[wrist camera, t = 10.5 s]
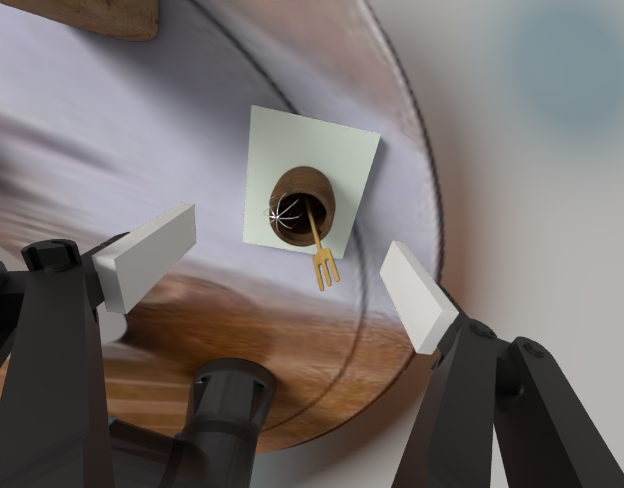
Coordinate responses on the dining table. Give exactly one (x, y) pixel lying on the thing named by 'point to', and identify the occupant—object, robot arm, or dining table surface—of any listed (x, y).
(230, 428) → the robot arm
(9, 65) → the dining table surface
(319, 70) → the dining table surface
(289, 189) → the utensil holder
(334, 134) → the sage board
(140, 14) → the block
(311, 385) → the dining table surface
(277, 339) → the dining table surface
